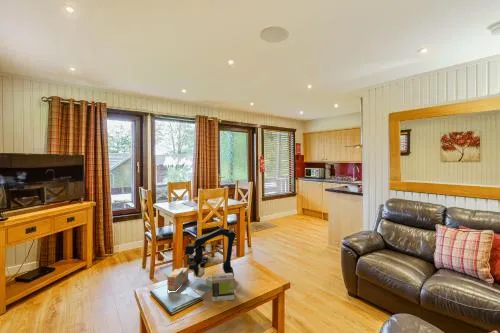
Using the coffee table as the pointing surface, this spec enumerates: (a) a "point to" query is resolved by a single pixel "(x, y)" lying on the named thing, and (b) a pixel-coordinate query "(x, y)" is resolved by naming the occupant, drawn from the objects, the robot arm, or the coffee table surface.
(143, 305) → the coffee table surface
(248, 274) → the coffee table surface
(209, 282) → the sage cube
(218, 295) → the tea box
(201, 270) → the maple block
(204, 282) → the grey flat sheet
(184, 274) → the printed cardboard box
